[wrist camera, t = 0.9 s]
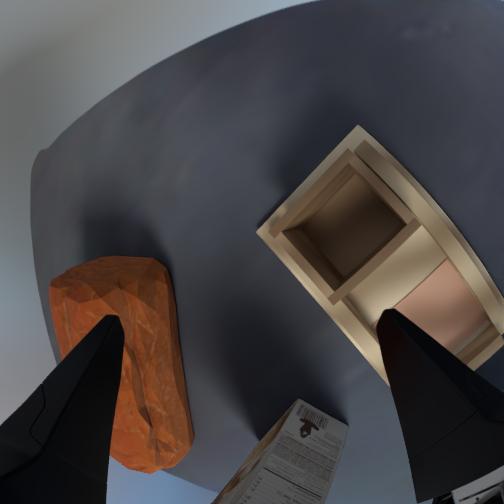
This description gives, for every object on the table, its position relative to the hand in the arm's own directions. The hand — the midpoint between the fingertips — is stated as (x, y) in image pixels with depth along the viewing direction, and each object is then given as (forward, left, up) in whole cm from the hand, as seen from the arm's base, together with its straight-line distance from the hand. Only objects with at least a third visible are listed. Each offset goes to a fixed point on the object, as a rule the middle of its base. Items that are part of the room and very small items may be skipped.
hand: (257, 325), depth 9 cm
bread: (+6, +26, -15) cm, 30 cm away
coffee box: (-12, +14, -15) cm, 24 cm away
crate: (+1, -3, -14) cm, 14 cm away
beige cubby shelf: (-4, -3, -14) cm, 15 cm away
